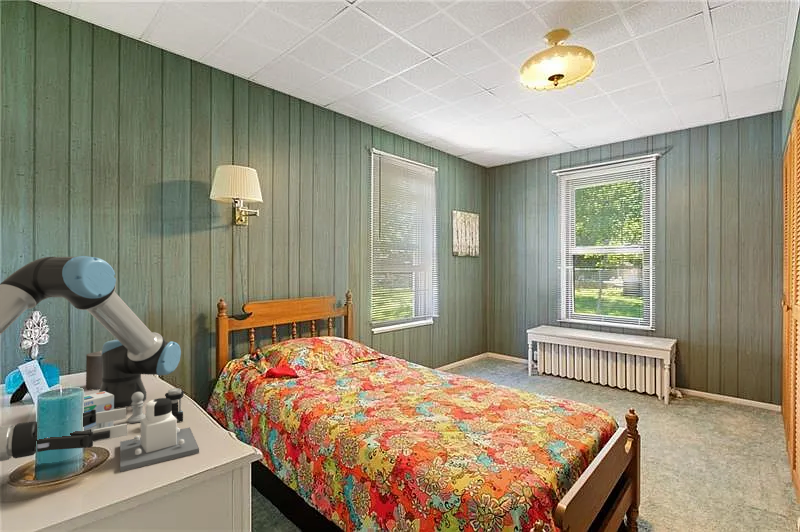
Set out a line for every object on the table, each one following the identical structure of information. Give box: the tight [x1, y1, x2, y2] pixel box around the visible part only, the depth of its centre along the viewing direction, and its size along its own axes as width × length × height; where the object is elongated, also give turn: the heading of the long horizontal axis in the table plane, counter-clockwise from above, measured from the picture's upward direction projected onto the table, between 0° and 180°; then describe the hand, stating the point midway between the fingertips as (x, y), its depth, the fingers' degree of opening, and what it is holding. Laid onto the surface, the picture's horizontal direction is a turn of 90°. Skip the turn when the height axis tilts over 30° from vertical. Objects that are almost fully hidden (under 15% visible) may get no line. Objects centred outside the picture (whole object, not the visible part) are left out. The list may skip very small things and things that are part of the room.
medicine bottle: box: [140, 397, 178, 453], centre depth 107 cm, size 7×7×12 cm
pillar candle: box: [85, 349, 102, 390], centre depth 165 cm, size 10×10×15 cm
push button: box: [164, 387, 185, 422], centre depth 126 cm, size 7×5×10 cm
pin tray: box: [119, 426, 200, 473], centre depth 107 cm, size 17×17×3 cm
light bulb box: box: [83, 391, 115, 432], centre depth 118 cm, size 11×7×11 cm, turn 148°
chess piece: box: [126, 392, 146, 424], centre depth 128 cm, size 5×5×9 cm
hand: (126, 420), depth 103 cm, fingers open, 13 cm apart
